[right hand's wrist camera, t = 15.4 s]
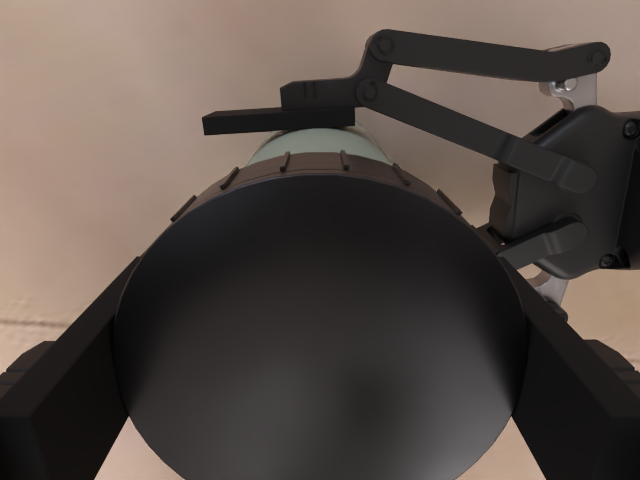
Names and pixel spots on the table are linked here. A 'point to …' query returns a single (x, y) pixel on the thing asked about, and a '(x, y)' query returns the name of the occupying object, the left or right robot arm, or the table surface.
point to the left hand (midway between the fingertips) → (224, 215)
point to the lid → (320, 329)
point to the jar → (321, 143)
